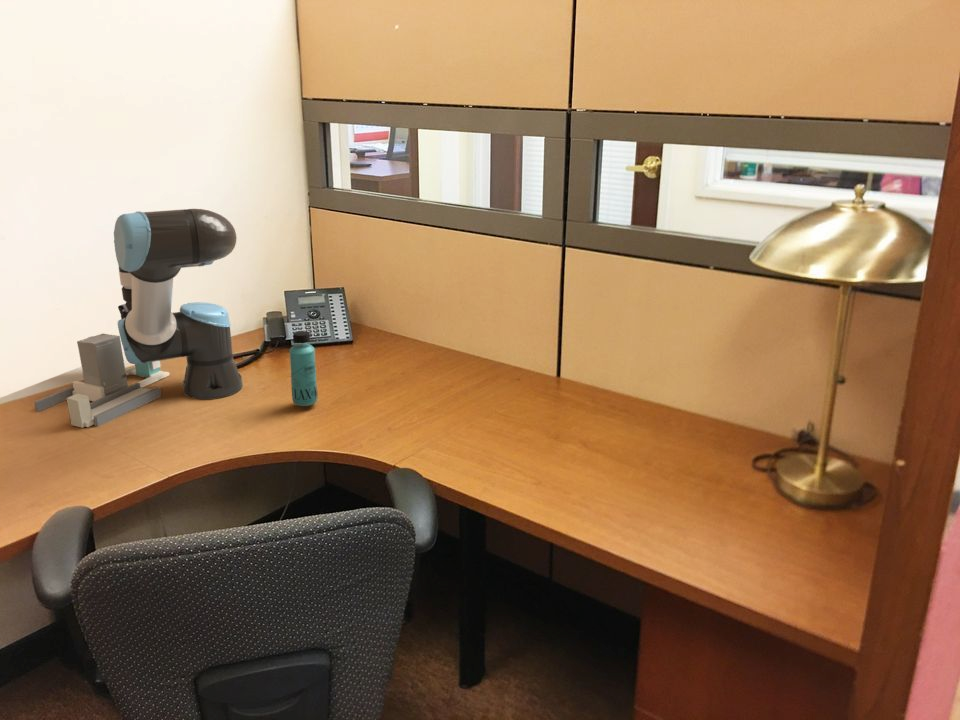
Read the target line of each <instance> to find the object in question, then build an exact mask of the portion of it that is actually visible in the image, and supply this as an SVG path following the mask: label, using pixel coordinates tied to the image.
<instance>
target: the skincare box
mask: <svg viewBox="0 0 960 720" xmlns="http://www.w3.org/2000/svg"><path fill="white" fill-rule="evenodd" d="M76 344H77V348H78V354H79V358H80V359H79V360H80V365H81V369H82V370H81V371H82V377H83V379H84V380H83V381H84V382H85V383H87V384H92V385H96V386H101V387H103V388H104V393H105V396H107V395H110V394H112V393H114V392H117V391H119V390H121V389H123V388H126V387H128V386H129V385H128V378H127V375H126V372H125V369H126V366H125V360H124V354H123V353H124V352H123V346H122V342H121V338H120V335H115V334H108V333H99V334H97V335H93V336H88V337H86V338H84V339H80V340H77V342H76Z"/></svg>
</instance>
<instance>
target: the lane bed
mask: <svg viewBox="0 0 960 720" xmlns="http://www.w3.org/2000/svg"><path fill="white" fill-rule="evenodd" d="M82 382H83V383H85V382H84V380H83V381H82ZM138 388H140V383H138V382H135V383H132V384H131V385H128V387H126V388H123V389H121V390H119V391H117V392H114V393H112V394H110V395H107V396H105V397H103V398H101V399H98V400H96V401H94V402H93V401H91V402H89V403H90V408H91V409H93V408H96V407H98V406H100V405H102V404H105V403H107V402H109V401H111V400H113V399H116V398H118V397H120V396H122V395H125V394H127V393H129V392H131V391H133V390H136V389H138ZM72 391H74V387H73V385H71V386H69V387H66V388H64V389H62V390H59V391H57V392H54V393H52V394H49V395H47V396H45V397H42V398H39V399H37V400H35V401H34V407H35V411H36V412H42V411H44V410H47V409H49V408H50V407H52V406H56V405H57V404H60V403H62V402H65V401H67V398H68V397H70V396H73V393H72ZM161 392H162V391H161V388H160V387H159V386H156V387H154V388H152V389H151V390H150V391H147V392H145V393H143V394H141V395H139V396H137V397H134V398H132V399H130V400H128V401H126V402H124V403H121V404H119V405H117V406H115V407H113V408H111V409H108V410H106V411H104V412H102V413H100V414H97V415H95V416H94V421H95V424H94V426H95V427H101V426H103V425H104V424H107V423H109V422H111V421H113V420H115V419H117V418H119V417H121V416H123V415H125V414H128V413H130V412H131V411H134V410H135V409H138V408H140V407H142V406H144V405H146V404H148V403H151V402H153V401H155V400H156V399H158V398H161V397H162V393H161Z"/></svg>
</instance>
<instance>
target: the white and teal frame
mask: <svg viewBox="0 0 960 720" xmlns="http://www.w3.org/2000/svg"><path fill="white" fill-rule="evenodd" d="M125 372H126V376H128V375H134V376H138V377H143V378H145V379H143V380H140V381H139V382H137V383H140V387H142V388H145V387H147V386H149V385H151V384H153V383H155V382H157V381H160V380H162V379H165V378H166V377H168V376H170V372H168V371H163V370H161V367H158V368H156V369H154V370H153V369H151V364H150V362H149V363H145V364H142V363H140V364H134V366H133V365H132V366H129V367H127V368H125ZM72 386H73V387H74V391H72V393H73V395H75V394H81V395H85V396H88V397H89V402H94V401H96V400H98V399H101V398H103V397H105V393H104V388H103V387H101V386H96V385H92V384H87V383H83V381H78V380H75V381H72Z"/></svg>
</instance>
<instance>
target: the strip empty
mask: <svg viewBox="0 0 960 720" xmlns="http://www.w3.org/2000/svg"><path fill="white" fill-rule="evenodd" d="M150 390H152V389H151V388H146V387H140V388H138V389H136V390H133V391H131V392H129V393H127V394H125V395H122V396H120V397H118V398H116V399H113V400H111V401H109V402H107V403H105V404H102V405H100V406H98V407H96V408H93V409H91V408H90V403H91V402H90V401H89V397H88V396H85V395H81V394H75V395H73V396H70V397H68V398H67V400H66V401H67V402H66V403H67V408H68V413H69V418H70V425H71V426H74V427H78V428H81V429H83V428H85V427H86V428H89V427H91V426H94V425H95V421H94V416H95V415H97V414H100V413H102V412H104V411H106V410H108V409H111V408H113V407H115V406H117V405H119V404H121V403H124V402H126V401H128V400H130V399H132V398H134V397H137V396H139V395H141V394H143V393H145V392H147V391H150Z"/></svg>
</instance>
